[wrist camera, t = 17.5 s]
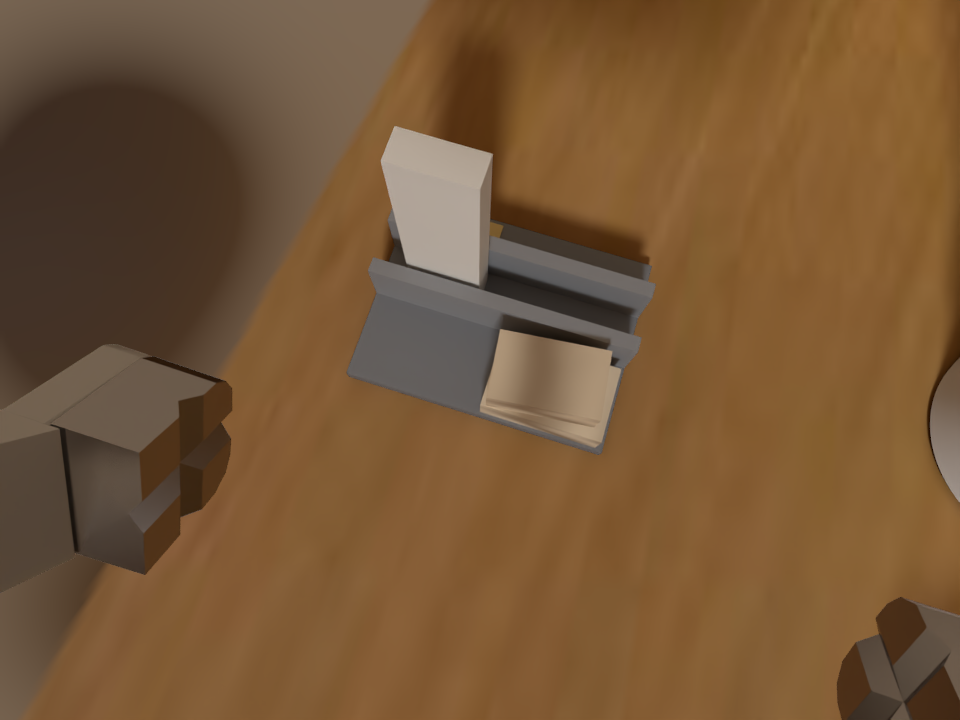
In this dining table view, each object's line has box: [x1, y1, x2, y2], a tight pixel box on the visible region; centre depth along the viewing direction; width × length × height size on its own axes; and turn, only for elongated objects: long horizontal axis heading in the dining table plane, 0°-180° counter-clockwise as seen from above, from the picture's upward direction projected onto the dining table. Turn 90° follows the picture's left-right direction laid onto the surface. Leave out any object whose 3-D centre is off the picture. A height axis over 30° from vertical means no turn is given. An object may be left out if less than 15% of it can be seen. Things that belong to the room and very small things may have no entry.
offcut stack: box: [480, 329, 621, 448], centre depth 43 cm, size 8×5×5 cm, turn 72°
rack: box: [347, 208, 656, 455], centre depth 46 cm, size 18×14×5 cm
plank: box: [381, 126, 493, 290], centre depth 40 cm, size 5×2×16 cm, turn 72°
